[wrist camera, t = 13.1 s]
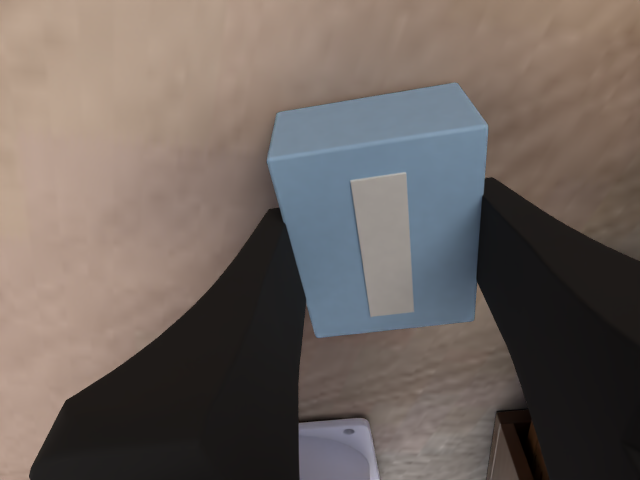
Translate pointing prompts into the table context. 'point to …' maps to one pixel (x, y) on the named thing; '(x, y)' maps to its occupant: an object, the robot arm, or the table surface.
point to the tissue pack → (383, 207)
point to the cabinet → (510, 447)
